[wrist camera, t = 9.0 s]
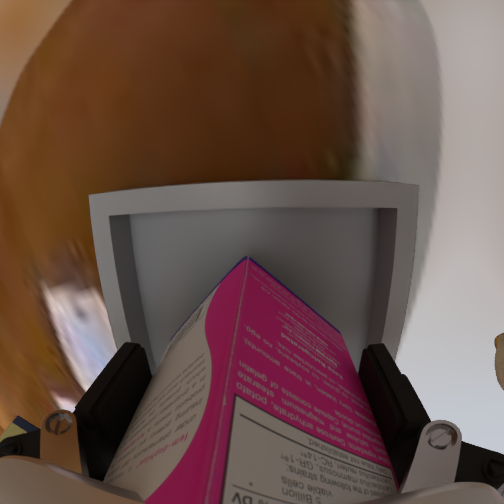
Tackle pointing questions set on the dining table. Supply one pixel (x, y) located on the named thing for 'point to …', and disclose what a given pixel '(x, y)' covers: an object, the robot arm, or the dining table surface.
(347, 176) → the dining table surface
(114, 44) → the dining table surface
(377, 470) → the supplement box
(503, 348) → the bird rattle
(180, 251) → the slate tray
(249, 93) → the dining table surface
